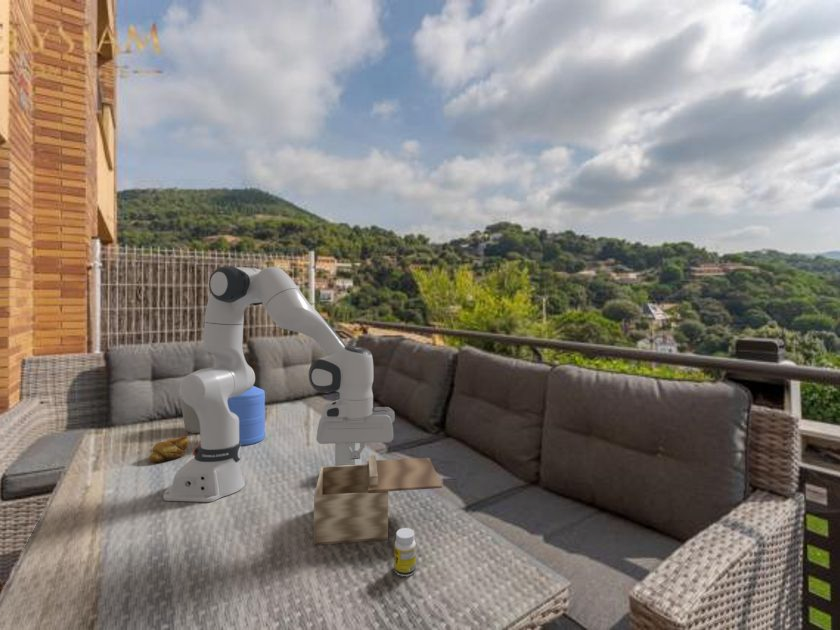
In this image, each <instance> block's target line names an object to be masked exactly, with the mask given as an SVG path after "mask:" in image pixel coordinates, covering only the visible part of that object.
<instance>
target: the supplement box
mask: <svg viewBox="0 0 840 630" xmlns="http://www.w3.org/2000/svg"><path fill="white" fill-rule="evenodd" d="M334 444H335V445H334V466H345V465H363V464H362V463H363V462H362V460H363V459H362V457H363V455H362V454H363V453H362V452H363V451H362V452H361V456H360V459H350V453H349V452H348V450H347V449H346V443H334ZM359 448H360V443H351V449H352V451H357V450H359Z"/></svg>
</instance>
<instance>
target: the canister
mask: <svg viewBox="0 0 840 630" xmlns="http://www.w3.org/2000/svg"><path fill="white" fill-rule="evenodd" d="M178 399H179V400H180V405H181V412H182V419H183V425H184V430H185V431H186V432H188V433H190V434H200V423H199V419H198V416H197V414H196V412H195V410H194V409H193V408H192V407H191V406H189V405H187V404H186V403H185V402H184V401H183V400H182V398H181V396H180V395H179V397H178Z"/></svg>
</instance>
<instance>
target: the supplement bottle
mask: <svg viewBox="0 0 840 630" xmlns="http://www.w3.org/2000/svg"><path fill="white" fill-rule="evenodd" d="M416 544H417V543H416V540H415V531H414V530H413V529H411V528H409V527H402V528H399V529H398V530H397V531H396V533H395V541H394V565H393V566H394V572H395V574H396V573H397V574H396V575H397V576H399V575H401V576H400V577H403V576H406V577H410V576H412V575H413V573H414V574H415V572H416V570H417V569H416V567H417V566H416V565H417V561H416V560H417V551H416V550H417V545H416ZM409 575H410V576H409Z"/></svg>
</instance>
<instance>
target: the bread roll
mask: <svg viewBox="0 0 840 630" xmlns="http://www.w3.org/2000/svg"><path fill="white" fill-rule="evenodd" d="M189 443H190V442H189V438H188V436H186V435H184V436H180V437H177V438H171V439H167V440H166V441H160V442H157V443H156V444H155V445H154V446H153V448H152V452H151V454H149V456H148V460H149V462H151V463H163V462H165V461H167V460H168V461H169V460H170V461H171V460H176V459H179V458H182V457H183V456H184V455H185V453H186V450H187V449H188V448H189V445H190V444H189Z"/></svg>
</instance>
